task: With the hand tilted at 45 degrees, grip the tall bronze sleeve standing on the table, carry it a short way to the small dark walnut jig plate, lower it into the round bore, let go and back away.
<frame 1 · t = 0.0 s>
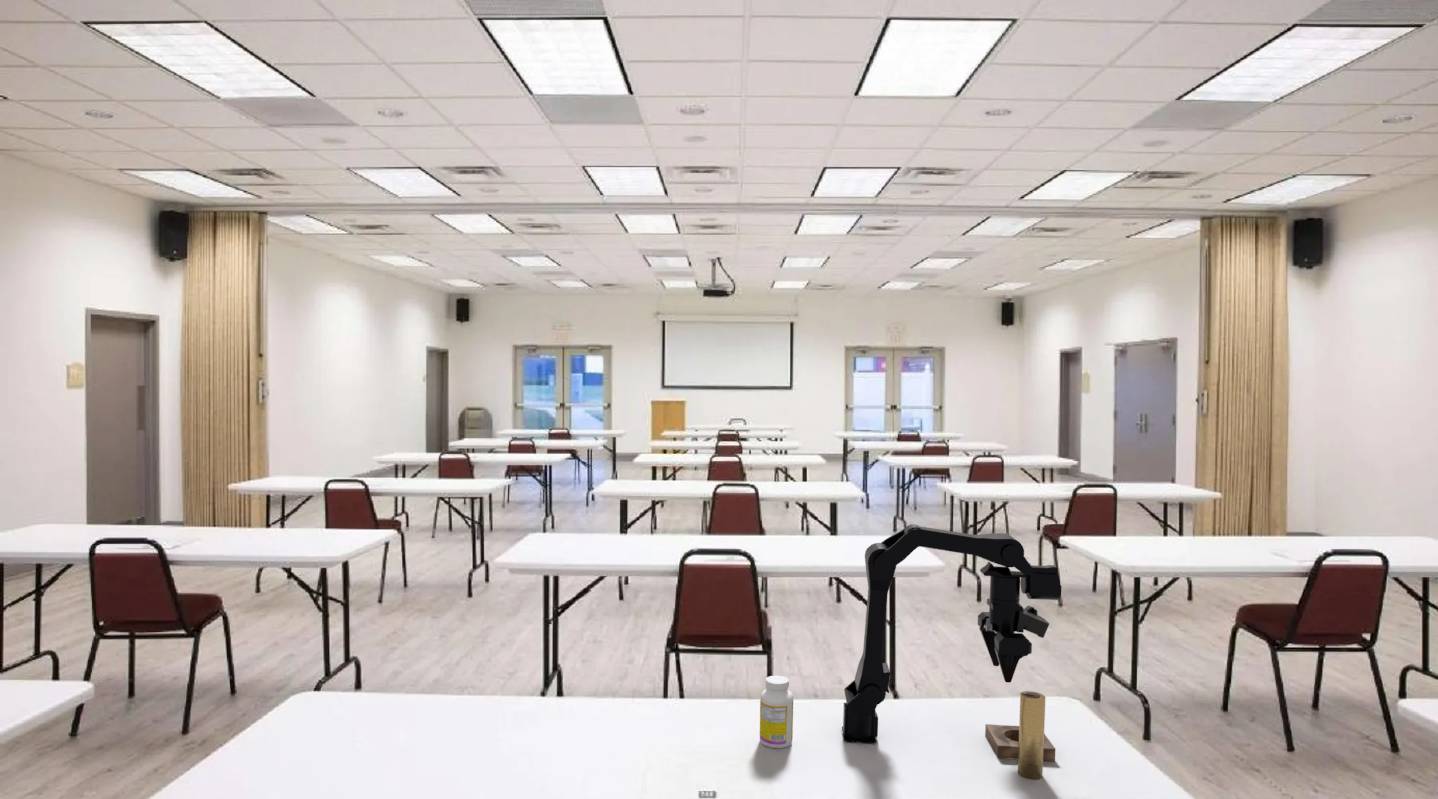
hand: (1001, 673, 168), 15 cm above the table, tool pointing down, fingers open, 9 cm apart
supplement bottle: (775, 743, 167), on the table
bronze sleeve: (1029, 774, 156), on the table
jig plate: (1018, 748, 167), on the table
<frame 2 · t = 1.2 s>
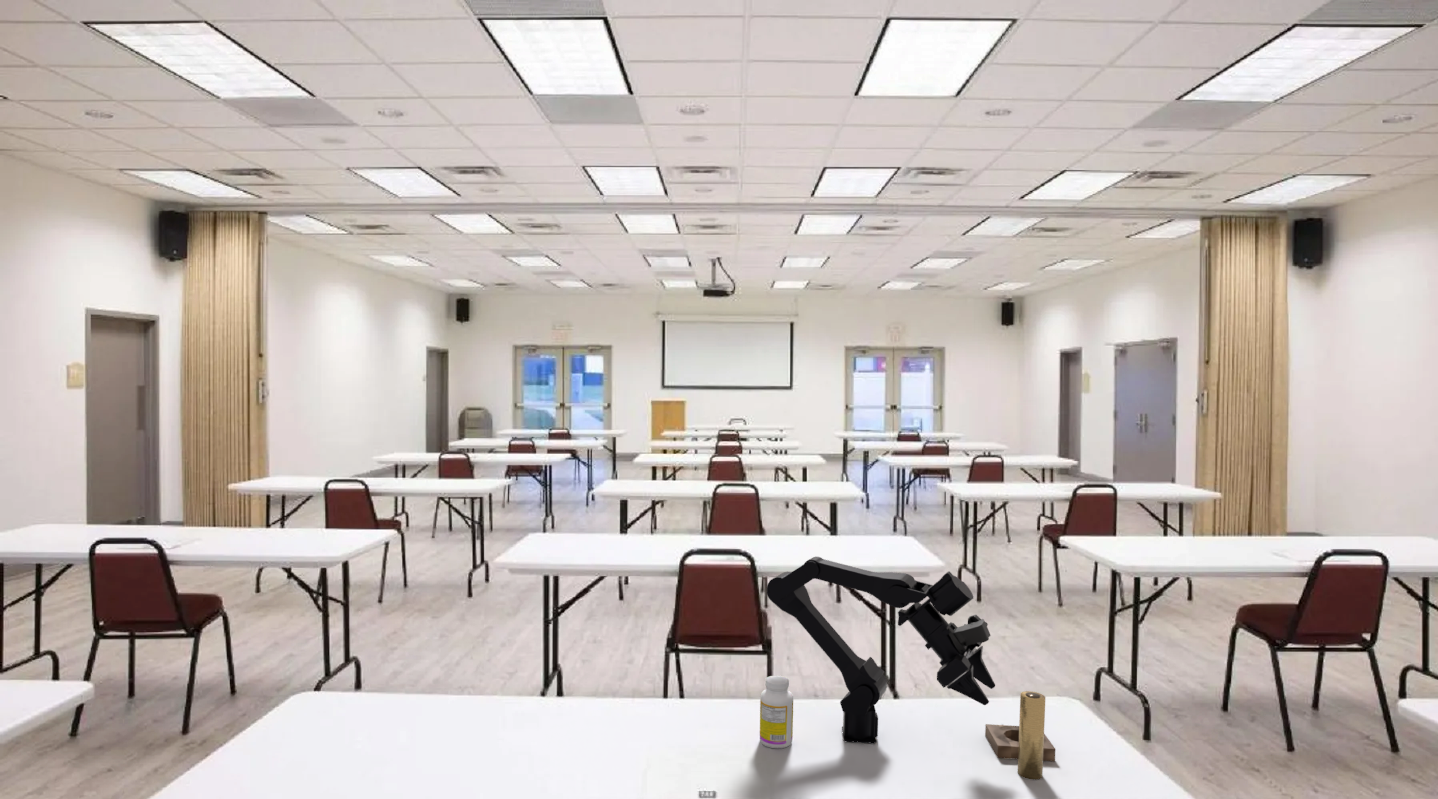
hand: (990, 695, 159), 14 cm above the table, tool tilted 45°, fingers open, 9 cm apart
nothing on the table moved.
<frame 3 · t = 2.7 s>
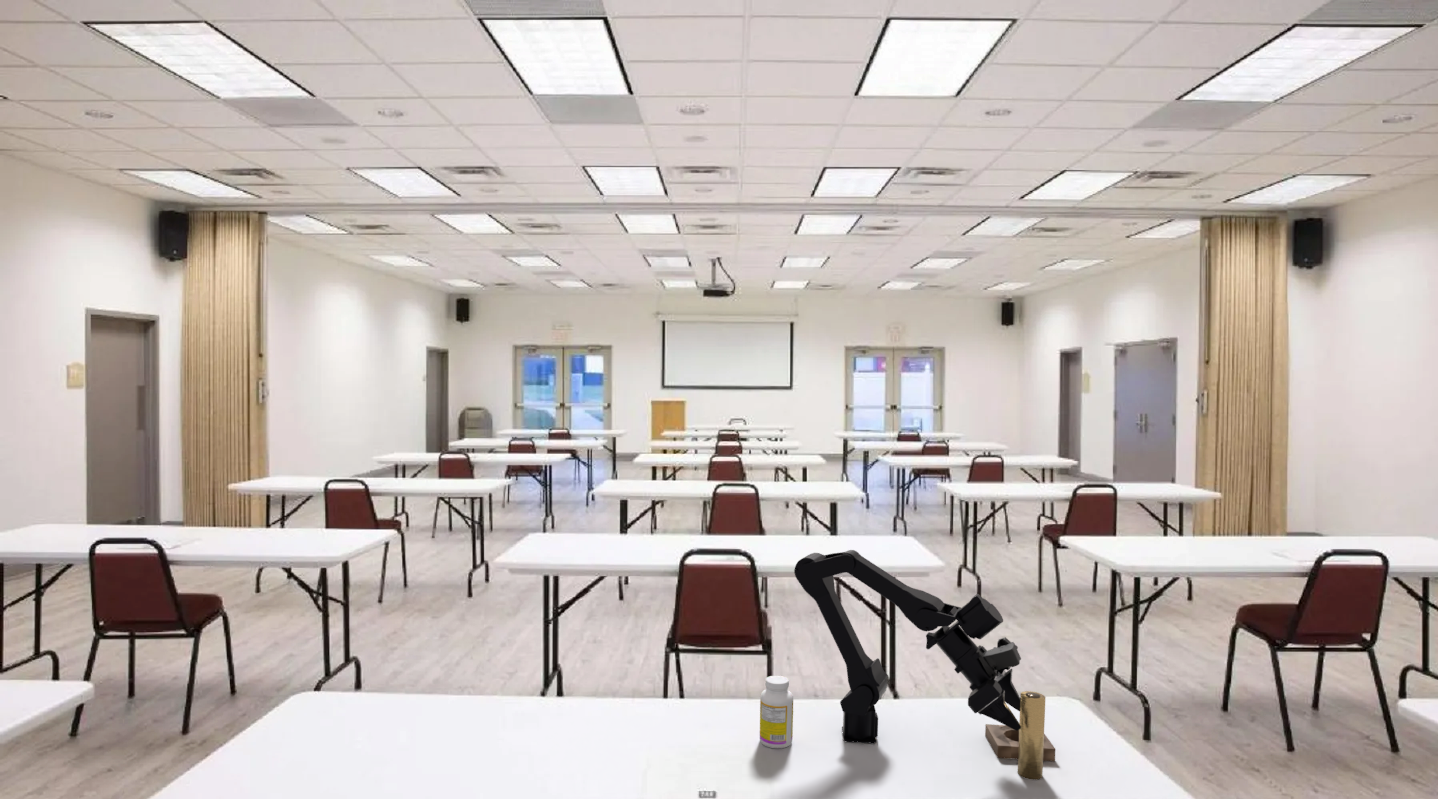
hand: (1021, 720, 157), 10 cm above the table, tool tilted 45°, fingers open, 9 cm apart
nothing on the table moved.
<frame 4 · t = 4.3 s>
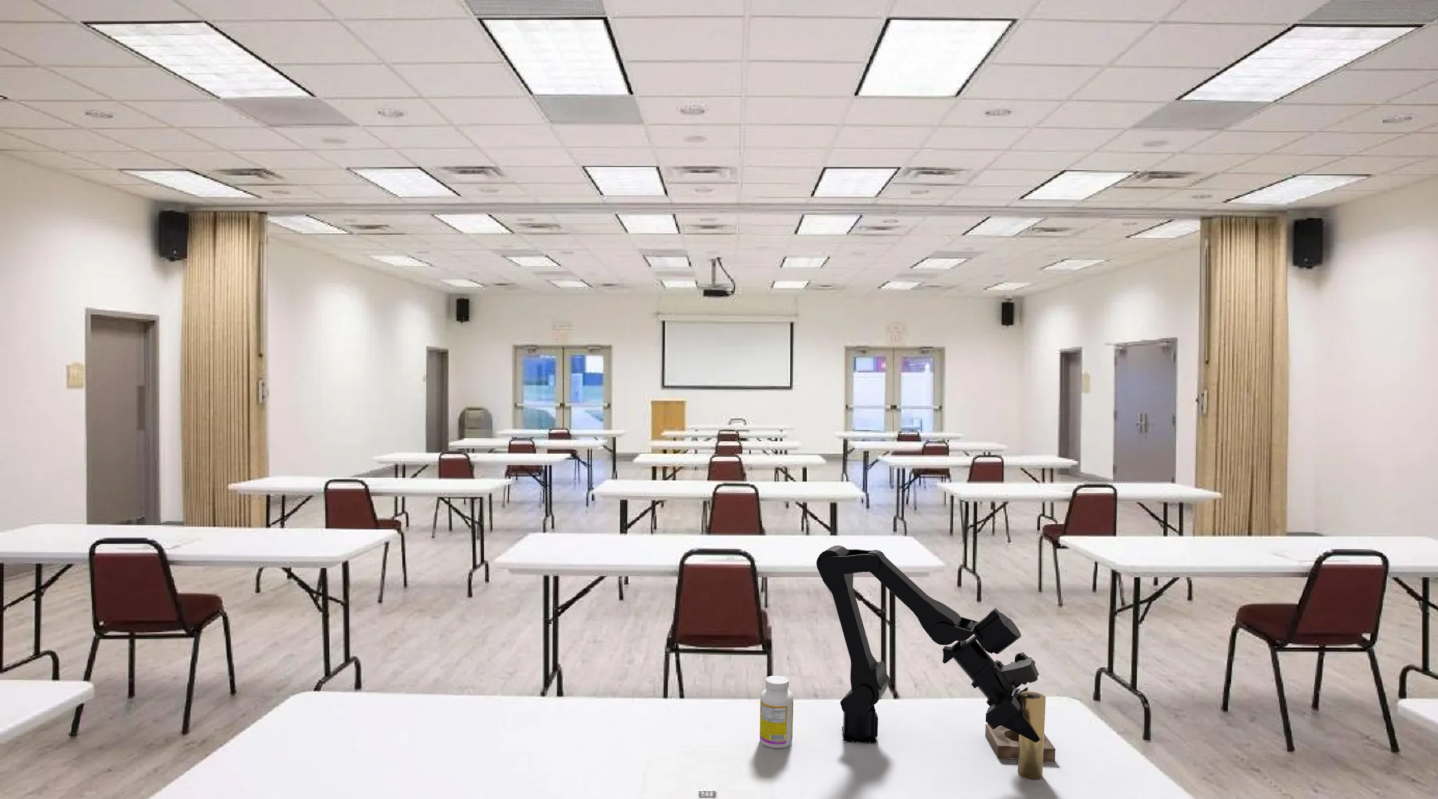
hand: (1039, 736, 156), 8 cm above the table, tool tilted 45°, fingers closed on bronze sleeve, 4 cm apart
bronze sleeve: (1029, 774, 156), on the table, touching gripper
everything else where it was.
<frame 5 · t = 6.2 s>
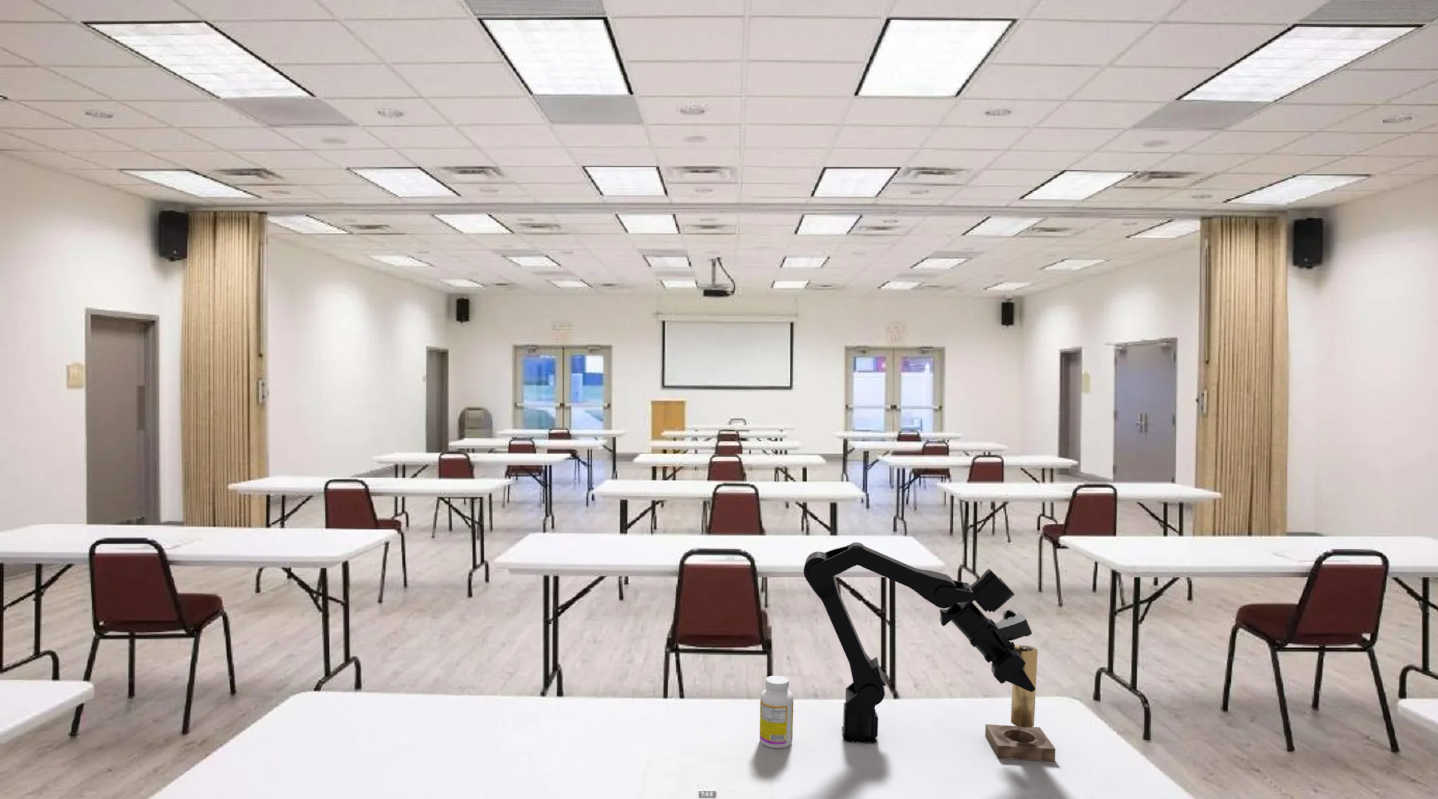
hand: (1031, 686, 165), 13 cm above the table, tool tilted 45°, fingers closed on bronze sleeve, 4 cm apart
bronze sleeve: (1022, 722, 166), point 6 cm above the table, touching gripper
everything else where it was.
when the fingers open (9 cm above the table, at t = 8.3 s): bronze sleeve drops 1 cm, resting in jig plate.
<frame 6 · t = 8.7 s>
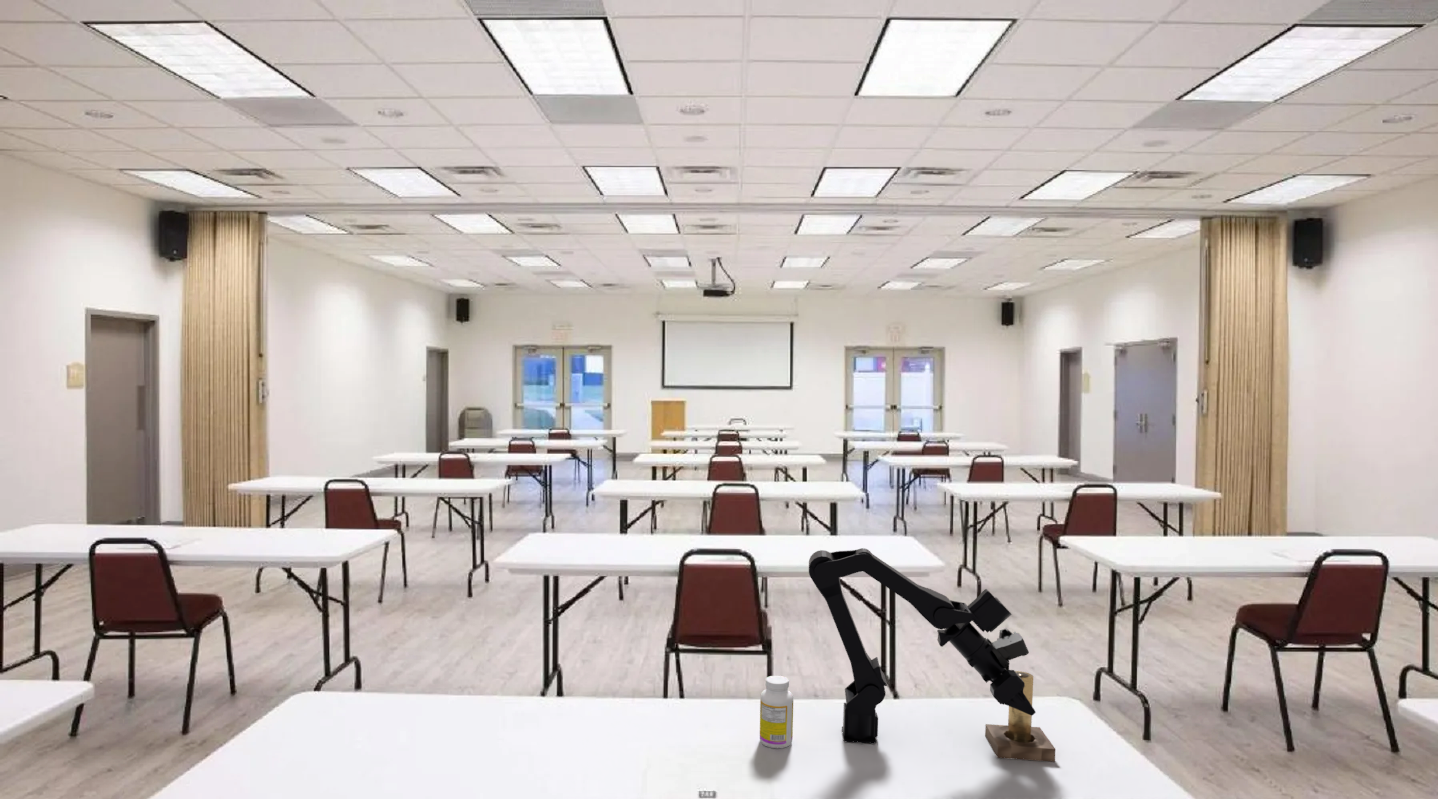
hand: (1027, 704, 167), 9 cm above the table, tool tilted 45°, fingers open, 9 cm apart
bronze sleeve: (1018, 748, 167), resting in jig plate
everything else where it was.
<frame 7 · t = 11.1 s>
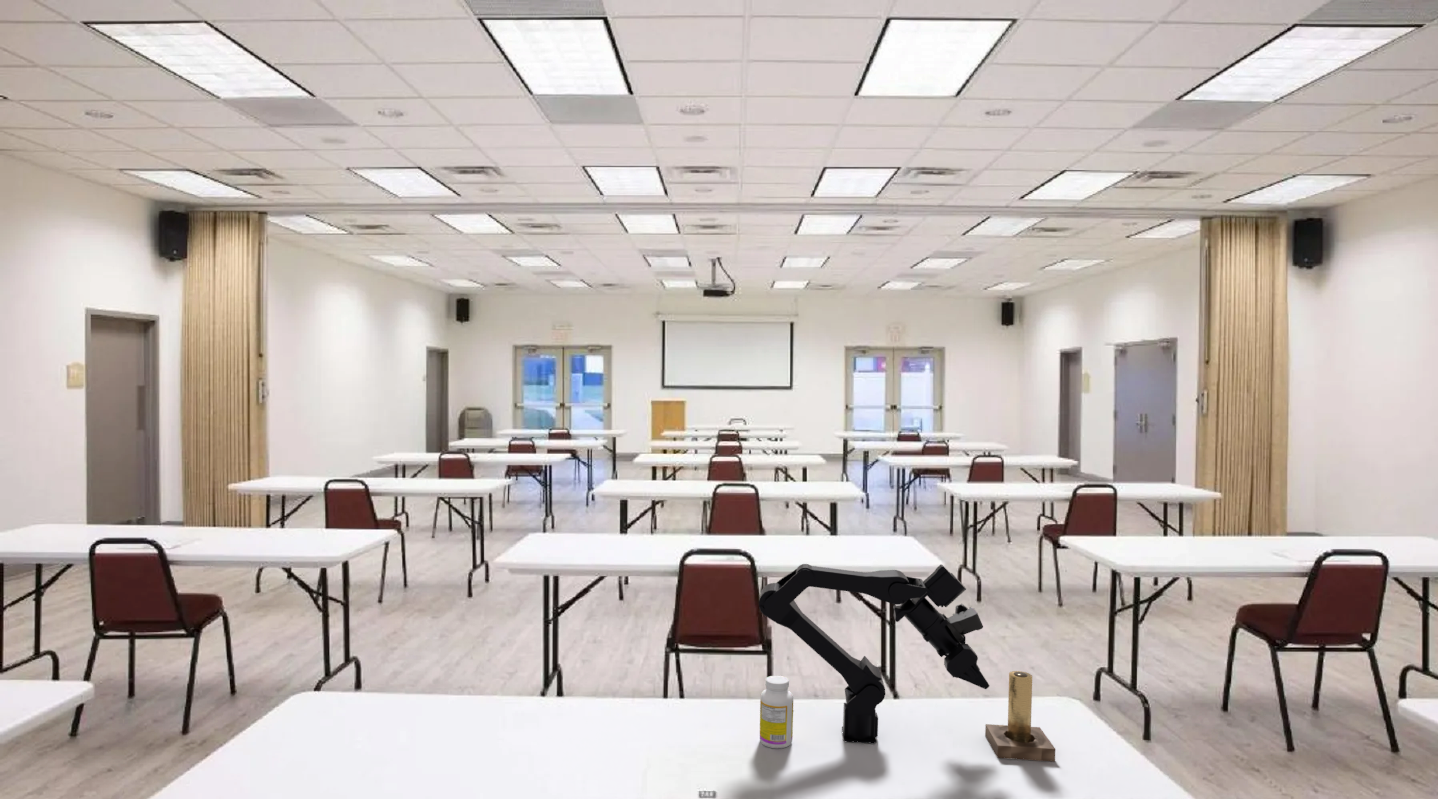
hand: (982, 679, 168), 14 cm above the table, tool tilted 45°, fingers open, 9 cm apart
nothing on the table moved.
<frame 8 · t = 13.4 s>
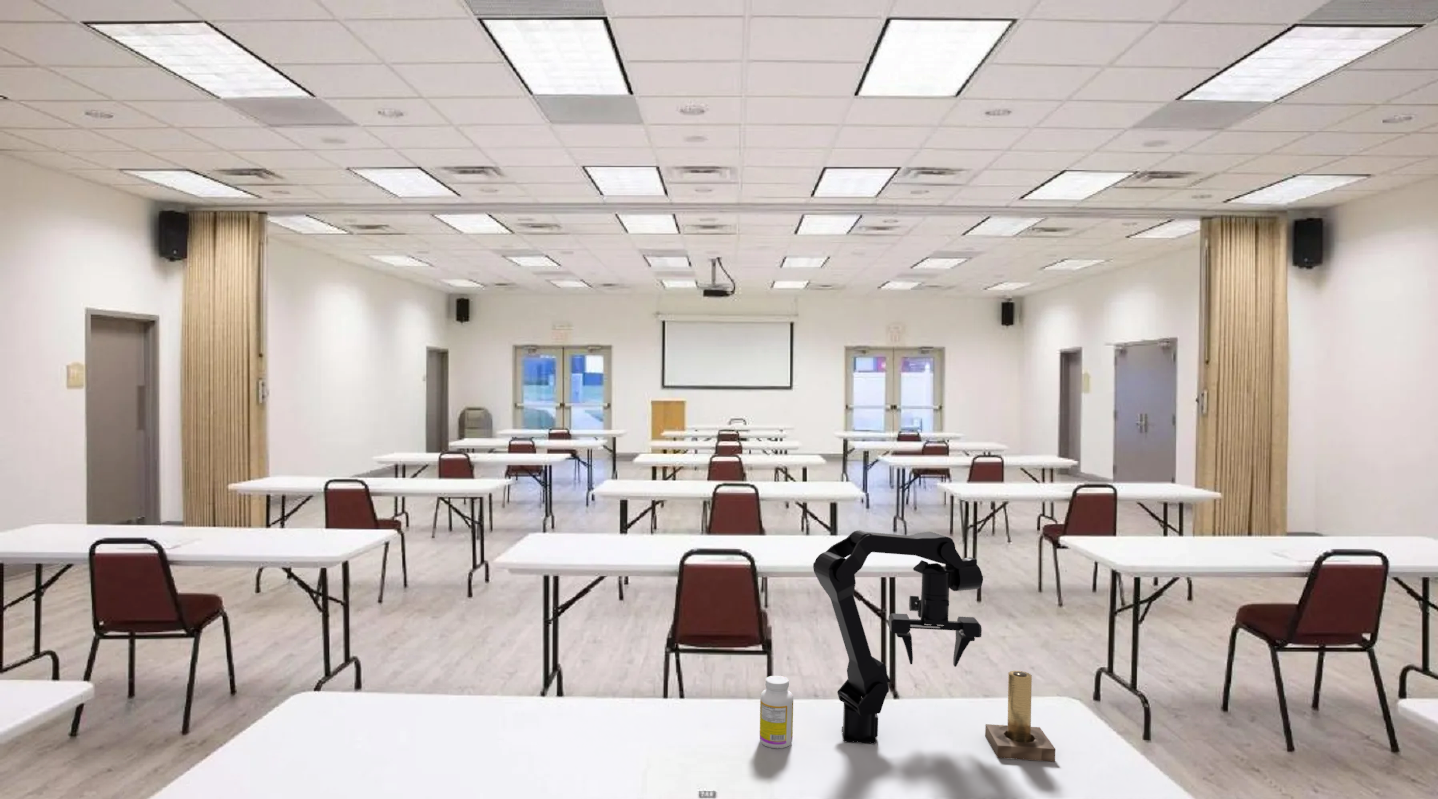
hand: (932, 664, 177), 13 cm above the table, tool pointing down, fingers open, 9 cm apart
nothing on the table moved.
at the end: bronze sleeve 0.0 cm off-centre on the jig plate, point 0.0 cm above the jig plate's base; bronze sleeve tilted 1°; the gripper is holding nothing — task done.
